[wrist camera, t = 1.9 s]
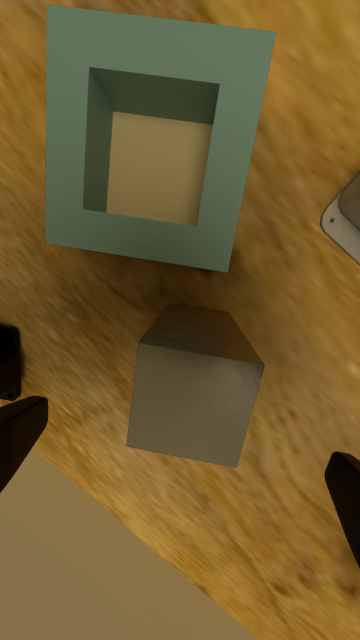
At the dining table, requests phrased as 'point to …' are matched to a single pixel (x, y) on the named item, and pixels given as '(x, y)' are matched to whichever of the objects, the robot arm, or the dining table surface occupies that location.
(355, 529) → the robot arm
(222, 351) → the grey rectangular block
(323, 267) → the dining table surface
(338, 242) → the emergency button
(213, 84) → the socket block
